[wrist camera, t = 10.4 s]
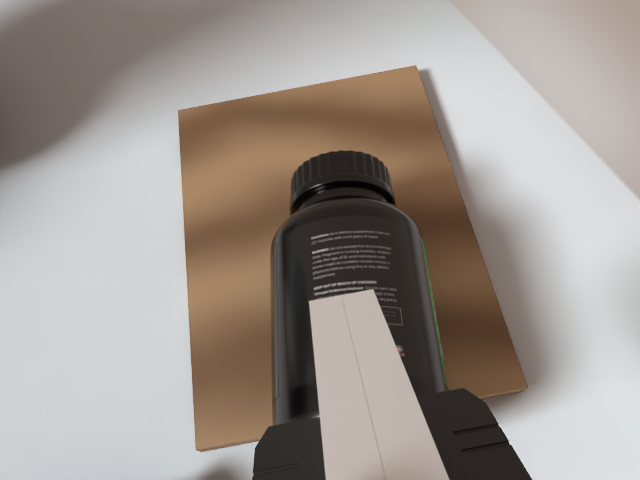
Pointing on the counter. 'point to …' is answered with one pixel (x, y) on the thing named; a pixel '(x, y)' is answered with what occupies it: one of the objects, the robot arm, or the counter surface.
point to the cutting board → (273, 209)
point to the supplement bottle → (347, 275)
